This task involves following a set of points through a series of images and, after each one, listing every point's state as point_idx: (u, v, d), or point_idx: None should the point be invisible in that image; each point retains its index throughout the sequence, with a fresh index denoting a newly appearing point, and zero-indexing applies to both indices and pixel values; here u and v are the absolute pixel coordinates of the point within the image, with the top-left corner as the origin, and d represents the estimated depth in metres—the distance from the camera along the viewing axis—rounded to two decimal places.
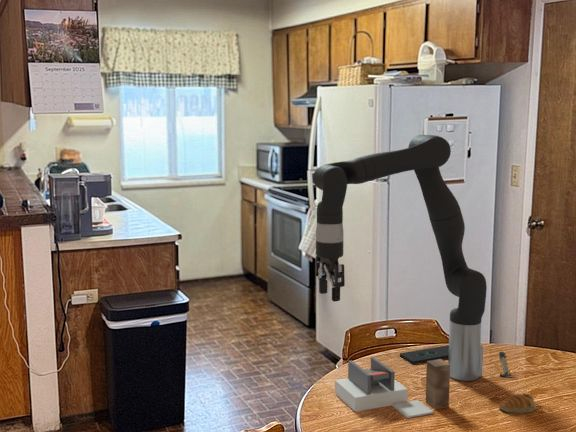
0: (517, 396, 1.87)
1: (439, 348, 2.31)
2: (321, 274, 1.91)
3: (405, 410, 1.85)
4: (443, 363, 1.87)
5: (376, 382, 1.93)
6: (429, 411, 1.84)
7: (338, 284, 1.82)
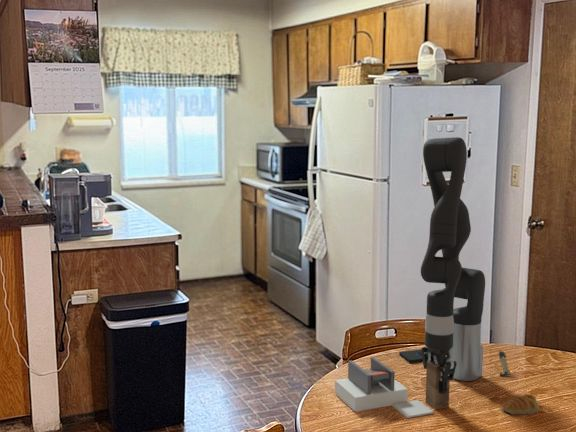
0: (520, 397, 1.86)
1: None
2: None
3: (405, 410, 1.85)
4: None
5: (376, 382, 1.93)
6: (429, 411, 1.84)
7: (447, 378, 1.83)
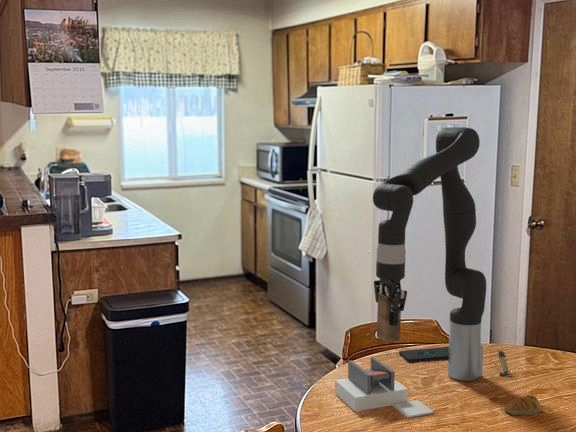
0: (522, 398, 1.85)
1: (442, 349, 2.30)
2: None
3: (405, 410, 1.85)
4: None
5: (376, 382, 1.93)
6: (429, 411, 1.84)
7: (397, 308, 1.78)
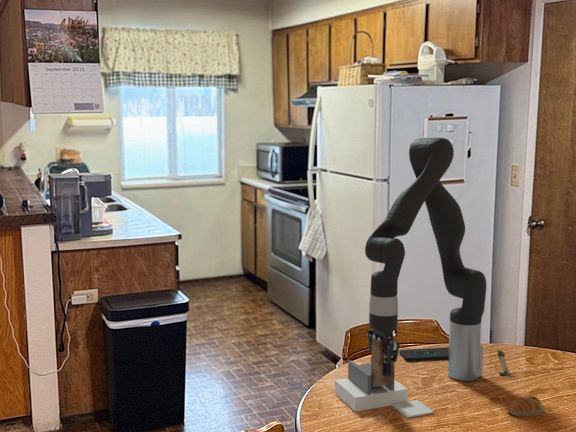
0: (525, 399, 1.85)
1: (443, 349, 2.30)
2: None
3: (405, 410, 1.85)
4: None
5: None
6: (429, 411, 1.84)
7: (390, 360, 1.80)
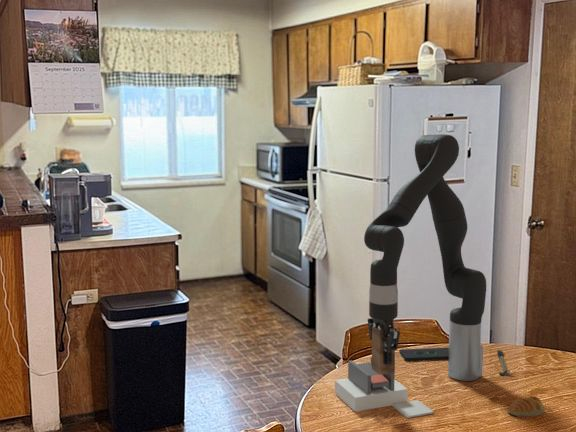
0: (525, 399, 1.84)
1: (443, 349, 2.30)
2: None
3: (405, 410, 1.85)
4: None
5: None
6: (429, 411, 1.84)
7: (391, 348, 1.80)
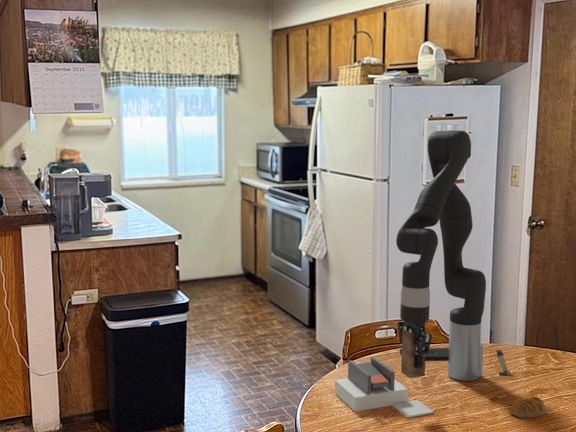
0: (527, 400, 1.84)
1: (444, 349, 2.30)
2: None
3: (405, 410, 1.85)
4: None
5: None
6: (429, 411, 1.84)
7: (422, 352, 1.78)
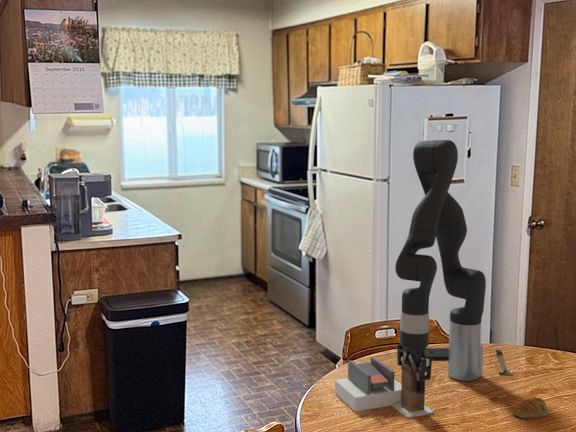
0: (530, 401, 1.84)
1: (445, 349, 2.29)
2: None
3: (405, 410, 1.85)
4: (419, 366, 1.84)
5: None
6: (429, 411, 1.84)
7: (424, 378, 1.78)
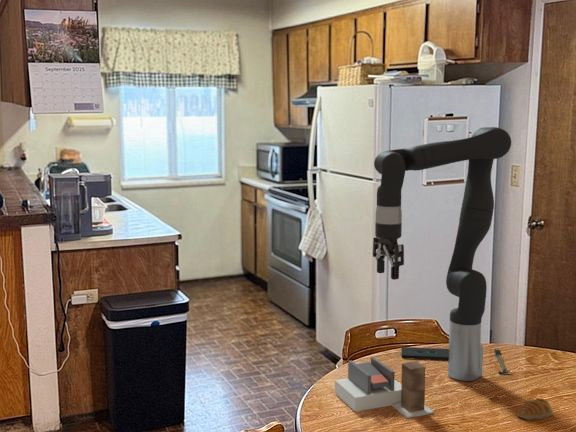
0: (533, 402, 1.83)
1: (446, 350, 2.29)
2: (379, 254, 2.03)
3: (405, 410, 1.85)
4: (419, 366, 1.84)
5: None
6: (429, 411, 1.84)
7: (398, 263, 1.94)
